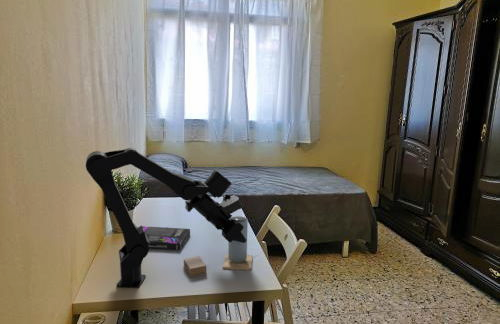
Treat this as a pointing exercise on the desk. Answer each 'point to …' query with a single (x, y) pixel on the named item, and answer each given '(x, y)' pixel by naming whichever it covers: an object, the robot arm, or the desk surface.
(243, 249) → the tumbler
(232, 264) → the coaster
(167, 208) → the desk surface
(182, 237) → the box
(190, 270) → the walnut block
